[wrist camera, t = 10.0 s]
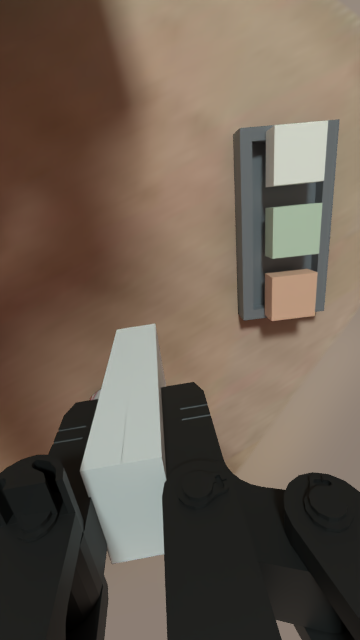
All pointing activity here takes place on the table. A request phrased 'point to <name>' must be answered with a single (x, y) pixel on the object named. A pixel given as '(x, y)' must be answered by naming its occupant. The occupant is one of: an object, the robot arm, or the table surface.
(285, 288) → the terracotta key
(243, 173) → the grey rectangular tray
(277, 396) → the table surface
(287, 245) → the sage key
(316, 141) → the ivory key
